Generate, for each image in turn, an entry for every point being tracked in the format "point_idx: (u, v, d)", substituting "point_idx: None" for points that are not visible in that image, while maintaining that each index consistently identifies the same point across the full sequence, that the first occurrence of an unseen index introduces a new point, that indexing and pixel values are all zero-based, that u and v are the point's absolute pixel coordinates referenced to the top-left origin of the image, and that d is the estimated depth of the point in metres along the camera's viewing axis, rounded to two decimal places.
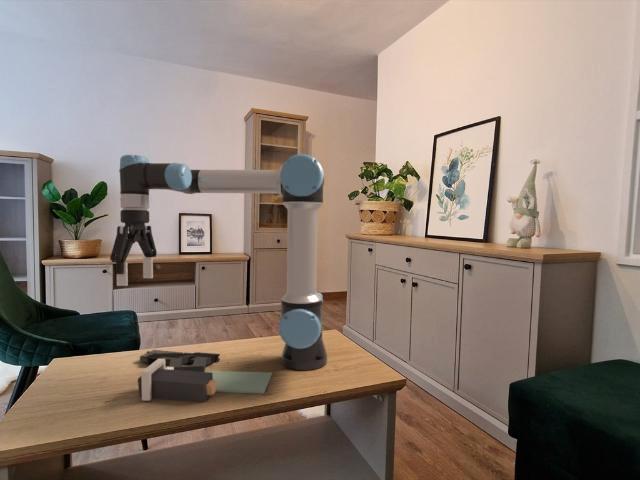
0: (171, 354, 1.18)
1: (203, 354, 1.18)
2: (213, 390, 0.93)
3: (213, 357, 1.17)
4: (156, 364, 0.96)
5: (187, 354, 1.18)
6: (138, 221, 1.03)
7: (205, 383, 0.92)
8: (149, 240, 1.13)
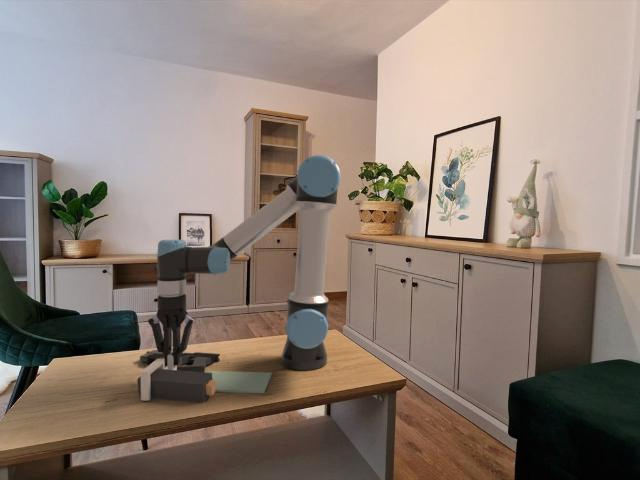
0: None
1: (203, 354, 1.18)
2: (213, 390, 0.93)
3: (213, 357, 1.17)
4: (155, 364, 0.96)
5: (187, 354, 1.18)
6: (158, 308, 1.00)
7: (204, 383, 0.92)
8: None
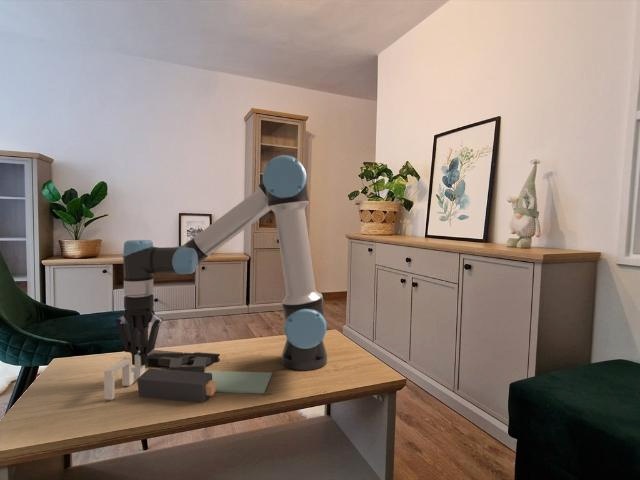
0: (171, 354, 1.18)
1: (203, 354, 1.18)
2: (212, 390, 0.93)
3: (213, 357, 1.17)
4: (120, 363, 0.96)
5: (187, 354, 1.18)
6: None
7: (204, 383, 0.92)
8: None
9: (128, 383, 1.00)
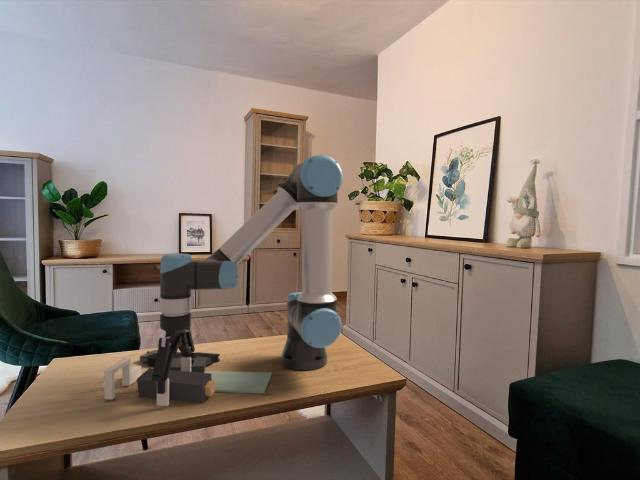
0: None
1: (203, 354, 1.18)
2: (211, 391, 0.93)
3: (213, 357, 1.17)
4: (120, 363, 0.96)
5: None
6: (180, 329, 0.92)
7: (203, 384, 0.92)
8: (188, 339, 1.02)
9: (128, 383, 1.00)
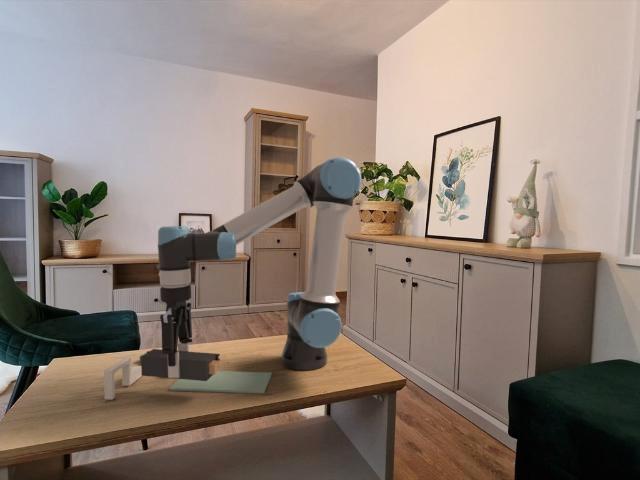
0: None
1: None
2: (215, 369, 0.93)
3: None
4: (120, 363, 0.96)
5: None
6: (181, 300, 0.92)
7: (208, 361, 0.93)
8: (187, 319, 1.00)
9: (128, 383, 1.00)
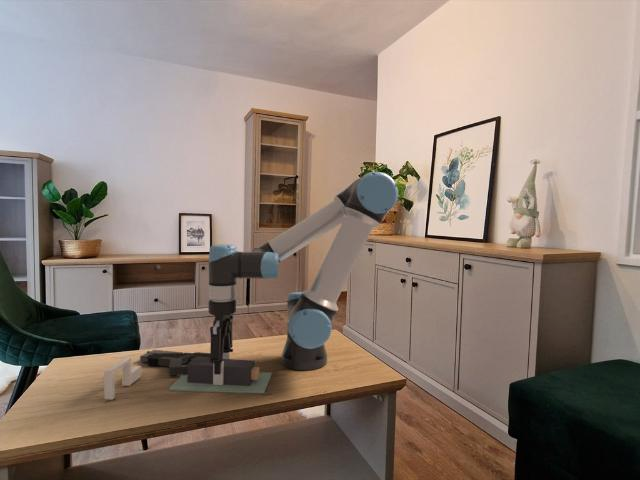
0: (171, 354, 1.18)
1: (203, 354, 1.18)
2: (257, 375, 1.01)
3: None
4: (120, 363, 0.96)
5: (187, 354, 1.18)
6: (228, 313, 1.00)
7: (250, 367, 1.01)
8: None
9: (128, 383, 1.00)
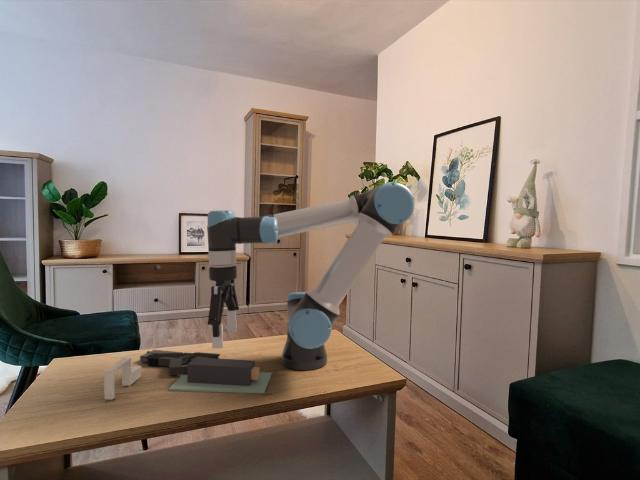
0: (171, 354, 1.18)
1: (203, 354, 1.18)
2: (257, 375, 1.01)
3: (213, 357, 1.17)
4: (120, 363, 0.96)
5: (187, 354, 1.18)
6: (229, 279, 0.99)
7: (250, 367, 1.01)
8: (232, 293, 1.09)
9: (128, 383, 1.00)
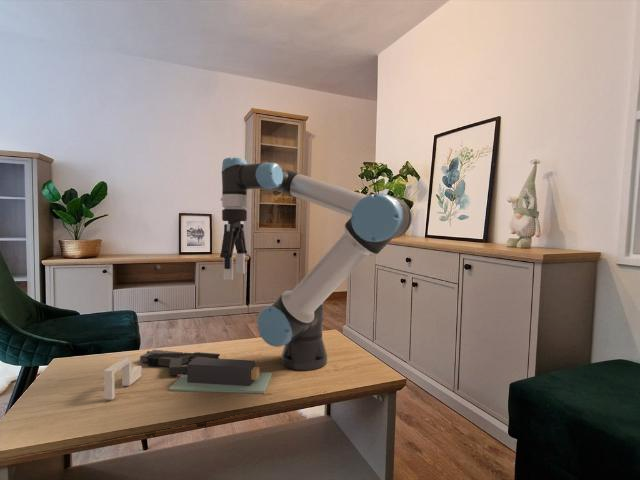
0: (171, 354, 1.18)
1: (203, 354, 1.18)
2: (257, 375, 1.01)
3: (213, 357, 1.17)
4: (120, 363, 0.96)
5: (187, 354, 1.18)
6: (240, 219, 1.10)
7: (250, 367, 1.01)
8: (241, 237, 1.20)
9: (128, 383, 1.00)
